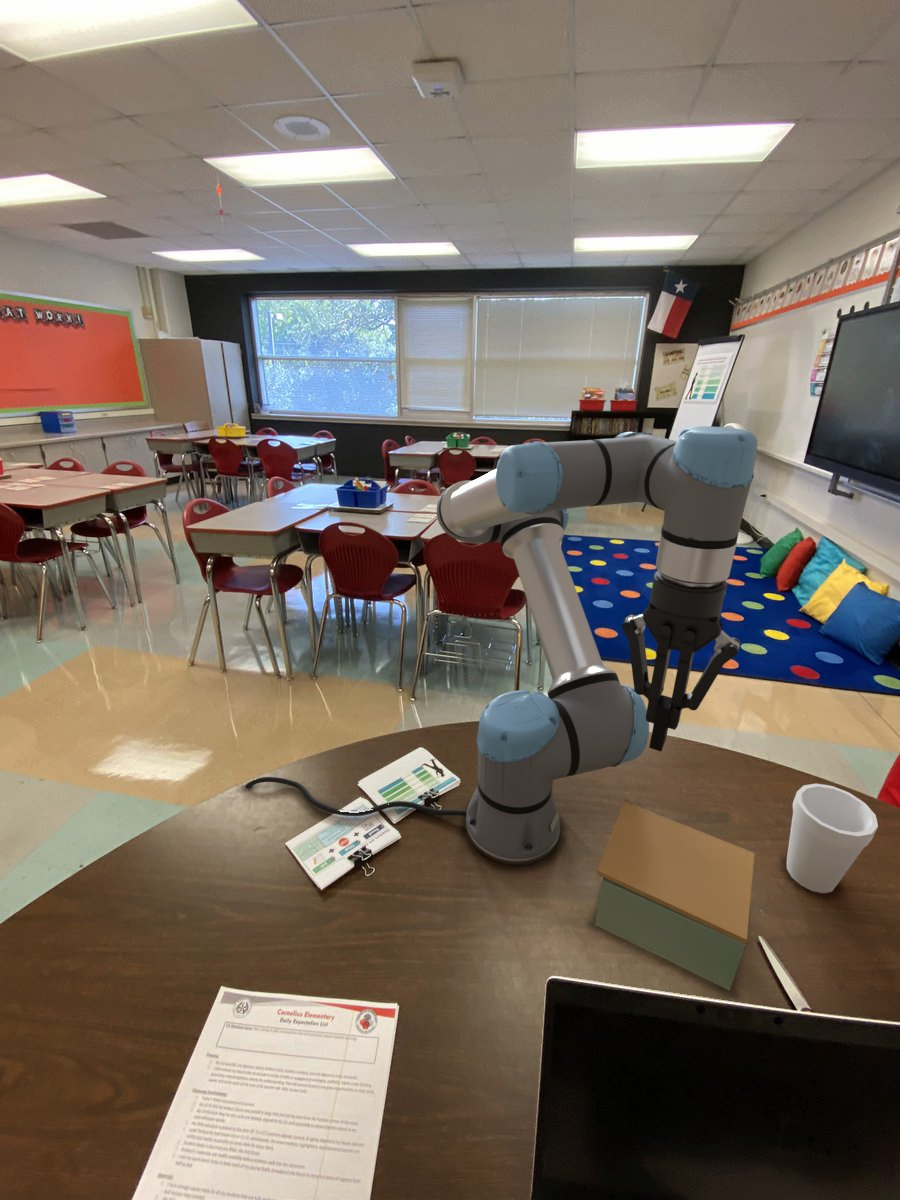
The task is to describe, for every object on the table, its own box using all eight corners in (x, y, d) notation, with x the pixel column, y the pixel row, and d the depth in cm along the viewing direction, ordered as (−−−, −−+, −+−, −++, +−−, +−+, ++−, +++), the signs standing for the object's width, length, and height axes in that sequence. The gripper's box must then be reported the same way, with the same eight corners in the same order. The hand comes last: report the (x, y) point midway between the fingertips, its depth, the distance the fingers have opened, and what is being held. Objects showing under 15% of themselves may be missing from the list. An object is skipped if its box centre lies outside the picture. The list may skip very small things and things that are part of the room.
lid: (596, 874, 70) (596, 869, 69) (623, 804, 80) (623, 800, 80) (745, 944, 62) (747, 939, 61) (753, 857, 72) (755, 852, 72)
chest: (594, 925, 73) (601, 880, 70) (620, 852, 84) (628, 809, 80) (729, 991, 65) (745, 944, 62) (739, 901, 76) (753, 857, 72)
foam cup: (760, 859, 82) (781, 795, 77) (802, 839, 86) (824, 776, 80) (820, 913, 74) (848, 845, 69) (864, 888, 78) (894, 822, 72)
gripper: (759, 574, 59) (716, 744, 69) (639, 554, 66) (615, 712, 76) (753, 599, 54) (707, 780, 64) (622, 574, 60) (598, 742, 70)
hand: (657, 743), depth 70 cm, fingers closed
